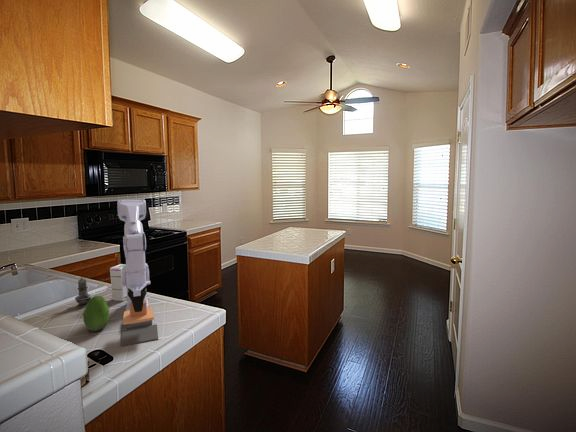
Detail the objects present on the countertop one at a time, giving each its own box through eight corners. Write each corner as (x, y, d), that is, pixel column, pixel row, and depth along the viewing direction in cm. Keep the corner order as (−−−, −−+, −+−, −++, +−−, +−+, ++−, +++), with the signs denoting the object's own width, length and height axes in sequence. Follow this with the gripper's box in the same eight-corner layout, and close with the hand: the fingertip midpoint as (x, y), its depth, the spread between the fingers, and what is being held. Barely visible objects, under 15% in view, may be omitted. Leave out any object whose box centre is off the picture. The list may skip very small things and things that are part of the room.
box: (128, 320, 119) (127, 312, 119) (151, 316, 123) (151, 308, 122) (127, 329, 112) (126, 321, 112) (152, 325, 115) (151, 317, 115)
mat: (122, 331, 111) (122, 329, 111) (156, 325, 115) (156, 324, 115) (120, 346, 101) (120, 345, 101) (158, 339, 106) (158, 338, 105)
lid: (124, 316, 110) (123, 300, 109) (153, 311, 113) (152, 296, 113) (123, 327, 102) (122, 310, 101) (153, 322, 105) (153, 305, 104)
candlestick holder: (81, 302, 135) (79, 274, 134) (95, 302, 135) (93, 274, 133) (72, 308, 129) (69, 279, 128) (86, 308, 129) (84, 279, 128)
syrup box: (123, 301, 136) (121, 268, 134) (111, 300, 137) (109, 267, 136) (132, 296, 142) (131, 264, 140) (121, 295, 143) (119, 263, 141)
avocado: (115, 324, 115) (113, 292, 114) (99, 335, 108) (97, 301, 106) (95, 323, 117) (92, 291, 115) (78, 333, 109) (75, 299, 107)
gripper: (150, 274, 100) (152, 316, 102) (149, 263, 113) (150, 299, 115) (124, 277, 97) (127, 320, 99) (126, 265, 111) (129, 303, 112)
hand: (138, 309), depth 107 cm, fingers closed on lid, 2 cm apart
